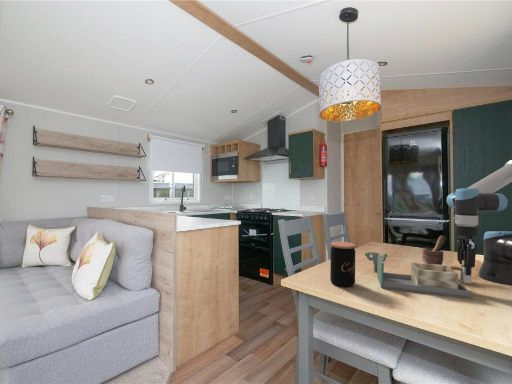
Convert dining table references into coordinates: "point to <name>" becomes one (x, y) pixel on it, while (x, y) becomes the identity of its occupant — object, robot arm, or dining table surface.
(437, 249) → the mortar and pestle
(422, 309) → the dining table surface
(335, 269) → the coffee jar
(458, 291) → the bay
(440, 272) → the crate
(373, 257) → the mechanical component
